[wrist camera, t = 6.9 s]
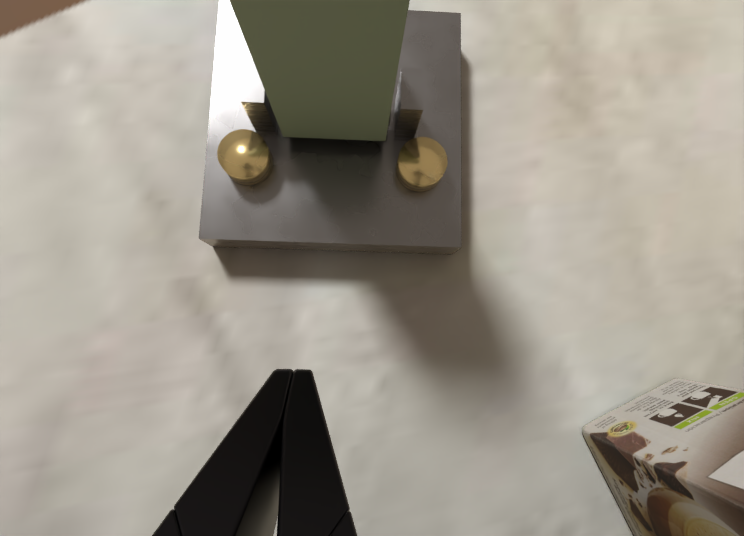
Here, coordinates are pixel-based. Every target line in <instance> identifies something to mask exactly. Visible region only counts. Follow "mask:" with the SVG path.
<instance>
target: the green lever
mask: <svg viewBox="0 0 744 536" xmlns="http://www.w3.org/2000/svg"><path fill="white" fill-rule="evenodd" d="M229 1H230V3H231V6H232V8H233V11H234V13H235V16H236V18H237V21H238V23H239V26H240V28H241V31H242V34H243V36H244V39H245V41H246V44H247V46H248V49H249V51H250V54H251V56H252V59H253V61H254V64H255V67H256V69H257V72H258V74H259V77H260V79H261V82H262V84H263V87H264V89H265V92H266V94H267V97H268V99H269V102H270V105H271V107H272V110H273V112H274V115H275V117H276V120H277V122H278V125H279V127H280V130H281V132H282V135H283V137H299V138H322V139H346V140H369V141H386V135H387V129H388V125H390V119H391V106H392V100H393V94H394V88H395V83H396V77H397V71H398V65H399V59H400V53H401V48H402V42H403V36H404V30H405V24H406V18H407V12H408V7H409V1H410V0H229Z"/></svg>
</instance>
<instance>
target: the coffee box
mask: <svg viewBox="0 0 744 536" xmlns="http://www.w3.org/2000/svg"><path fill="white" fill-rule="evenodd" d="M582 433H583V436H584V438H585V440H586V442H587V444H588V446H589V448H590V450H591V452H592V454H593V456H594V458H595V459H596V461H597V463H598V465H599V467H600V469H601V471H602V473H603V475H604V477H605V479H606V481H607V483H608V485H609V487H610V489H611V491H612V493H613V495H614V497H615V499H616V501H617V503H618V505H619V507H620V509H621V511H622V513H623V515H624V517H625V519H626V521H627V523H628V525H629V527H630V528H631V530H632V532H633V534H634V536H744V390H742V389H735V388H729V387H723V386H718V385H712V384H707V383H701V382H696V381H690V380H685V379H679V378H675V379H673V380H671V381H669V382H667V383H665V384H663V385H661V386H659V387H657V388H655V389H653V390H651V391H649V392H647V393H645V394H643V395H641V396H639V397H637V398H636V399H634V400H632V401H630V402H628V403H626V404H624V405H622V406H620V407H618V408H616V409H614V410H613V411H611V412H609V413H607V414H605V415H603V416H601V417H599V418H597V419H595V420H593V421H592V422H590V423H588V424H586V425H585V426H584V427H583V429H582Z"/></svg>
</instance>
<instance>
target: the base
mask: <svg viewBox="0 0 744 536" xmlns="http://www.w3.org/2000/svg"><path fill="white" fill-rule="evenodd" d="M199 239H200V240H202V241H204V242H206V243H207V244H209V245H211V246H216V247H246V248H276V249H307V250H337V251H368V252H398V253H428V254H453V253H455V252H456V251H457V250H459V249H460V248H461V13H449V12H431V11H412V10H408V12H407V18H406V24H405V30H404V36H403V42H402V48H401V53H400V59H399V65H398V71H397V77H396V83H395V88H394V94H393V100H392V106H391V119H390V125H388V129H387V135H386V141H369V140H346V139H322V138H299V137H283V135H282V132H281V130H280V127H279V125H278V122H277V120H276V117H275V115H274V112H273V110H272V107H271V105H270V102H269V99H268V97H267V94H266V92H265V89H264V87H263V84H262V82H261V79H260V77H259V74H258V72H257V69H256V67H255V64H254V61H253V59H252V56H251V54H250V51H249V49H248V46H247V44H246V41H245V39H244V36H243V34H242V31H241V28H240V26H239V23H238V21H237V18H236V16H235V13H234V11H233V8H232V6H231V3H230V1H227V0H219V8H218V20H217V32H216V43H215V55H214V67H213V78H212V90H211V102H210V113H209V125H208V137H207V148H206V160H205V172H204V183H203V195H202V207H201V218H200V230H199Z"/></svg>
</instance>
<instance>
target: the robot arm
mask: <svg viewBox="0 0 744 536" xmlns="http://www.w3.org/2000/svg"><path fill="white" fill-rule="evenodd" d="M174 509H175V510H174ZM174 509H172V510H171V511H170V512H169V513H168V515H167V516H166V517H165V519H164V520H163V522H162V523H161V524H160V526H159V527H158V528H157V530H156V531H155V532H154V534H153V535H152V536H273V534H274V529H275V525H276V521H277V516H278V526H277V536H357V533H356V529H355V526H354V522H353V518H352V515H351V512H349V509H350V508H349V504H348V501H347V497H346V493H345V490H344V486H343V482H342V479H341V475H340V471H339V468H338V464H337V460H336V457H335V453H334V449H333V446H332V442H331V438H330V435H329V431H328V427H327V424H326V420H325V416H324V413H323V409H322V405H321V402H320V398H319V394H318V391H317V387H316V383H315V380H314V376H313V373H312V371H311V370H303V369H297V370H294V372H293V370H291V369H276V370H274V371H273V373H272V374H271V375H270V377H269V378H268V379H267V381H266V382H265V383H264V385H263V386H262V387H261V389H260V390H259V392H258V393H257V394H256V396H255V397H254V398H253V400H252V401H251V402H250V404H249V405H248V406H247V408H246V409H245V411H244V412H243V413H242V415H241V416H240V417H239V419H238V420H237V421H236V423H235V424H234V425H233V427H232V428H231V430H230V431H229V432H228V434H227V435H226V436H225V438H224V439H223V440H222V442H221V443H220V444H219V446H218V447H217V449H216V450H215V451H214V453H213V454H212V455H211V457H210V458H209V459H208V461H207V462H206V463H205V465H204V466H203V468H202V469H201V470H200V472H199V473H198V474H197V476H196V477H195V478H194V480H193V481H192V482H191V484H190V485H189V487H188V488H187V489H186V491H185V492H184V493H183V495H182V496H181V497H180V499H179V500H178V501H177V503H176V504H175V506H174Z"/></svg>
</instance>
